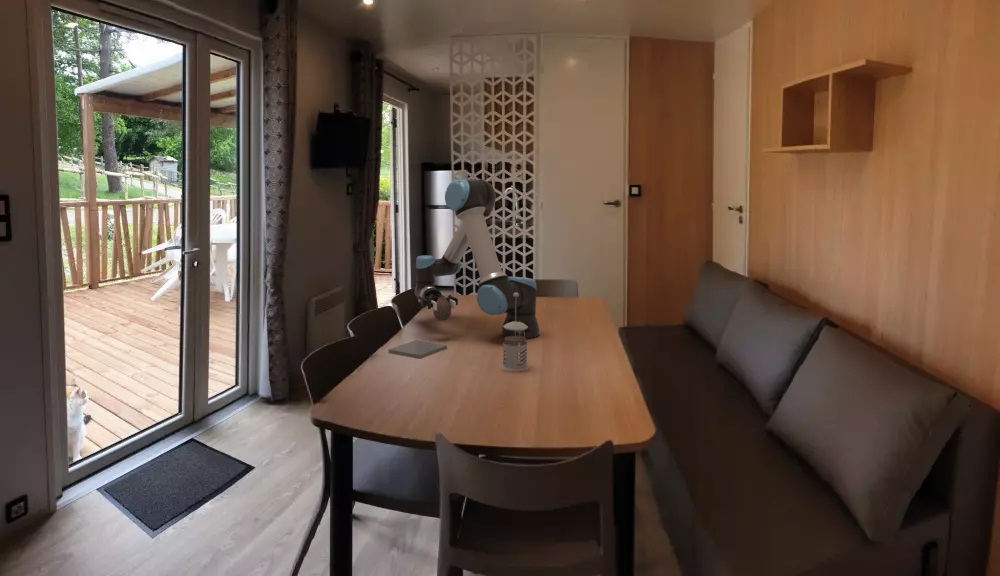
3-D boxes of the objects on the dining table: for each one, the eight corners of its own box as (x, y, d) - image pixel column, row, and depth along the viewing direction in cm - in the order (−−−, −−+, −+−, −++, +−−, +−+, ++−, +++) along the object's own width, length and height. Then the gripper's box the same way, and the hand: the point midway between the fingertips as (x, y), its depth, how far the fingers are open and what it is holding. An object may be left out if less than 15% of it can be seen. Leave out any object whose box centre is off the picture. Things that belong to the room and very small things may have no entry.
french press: (495, 369, 210) (496, 293, 206) (508, 360, 221) (509, 288, 217) (523, 372, 207) (525, 296, 203) (535, 363, 217) (537, 290, 213)
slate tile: (446, 348, 235) (446, 345, 235) (420, 358, 221) (420, 355, 221) (416, 343, 242) (416, 340, 242) (388, 352, 228) (388, 349, 228)
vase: (448, 321, 243) (448, 298, 241) (431, 321, 244) (430, 298, 243) (453, 318, 249) (453, 295, 248) (436, 317, 251) (436, 295, 249)
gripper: (454, 304, 266) (470, 314, 245) (407, 307, 260) (420, 317, 238) (454, 286, 265) (470, 294, 244) (407, 288, 259) (419, 297, 237)
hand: (445, 306), depth 241 cm, fingers closed on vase, 7 cm apart
